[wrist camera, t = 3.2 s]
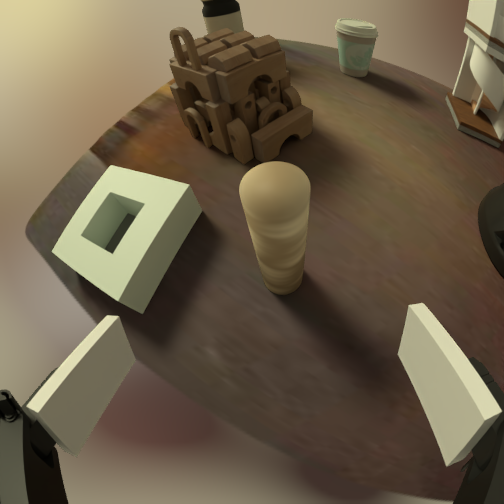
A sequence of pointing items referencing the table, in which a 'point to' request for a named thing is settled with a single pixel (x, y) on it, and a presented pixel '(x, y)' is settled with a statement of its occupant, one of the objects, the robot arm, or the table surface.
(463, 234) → the table surface
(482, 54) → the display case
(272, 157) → the wooden puzzle
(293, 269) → the dowel
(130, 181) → the socket block
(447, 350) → the robot arm
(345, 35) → the coffee cup
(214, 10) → the travel mug
